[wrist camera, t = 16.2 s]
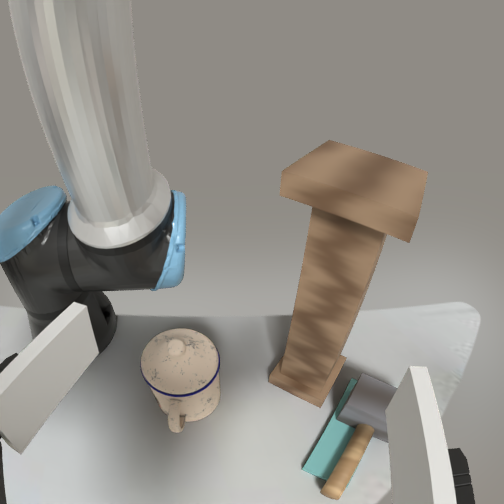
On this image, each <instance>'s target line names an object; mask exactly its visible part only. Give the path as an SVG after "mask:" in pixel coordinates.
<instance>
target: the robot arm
mask: <svg viewBox="0 0 504 504" xmlns="http://www.w3.org/2000/svg"><path fill="white" fill-rule="evenodd" d="M8 2H9V8H10V14H11V19H12V24H13V29H14V33H15V38H16V42H17V46H18V50H19V54H20V58H21V62H22V65H23V69H24V73H25V76H26V80H27V83H28V86H29V90H30V93H31V96H32V99H33V102H34V105H35V108H36V111H37V114H38V117H39V120H40V122H41V125H42V128H43V131H44V134H45V136H46V139H47V142H48V144H49V147H50V149H51V152H52V154H53V157H54V159H55V162H56V164H57V166H58V169H59V171H60V174H61V176H62V178H63V180H64V183H65V185H66V187H67V189H68V192H69V194H70V196H71V198H72V199H71V201H67V200H66V197H67V196H66V194H65V193H64V191H63V189H62V188H60V187H57V186H47V187H43V188H40V189H37V190H34V191H32V192H30V193H28V194H26V195H24V196H22V197H21V198H19V199H18V200H16V201H15V202H13V203H12V204H11V205H10V206H8V207H7V208H6V209H5V210H4V211H3V212H2V214H1V215H0V264H1V266H2V268H3V270H4V271H5V274H6V275H7V277H8V279H9V281H10V283H11V285H12V286H13V288H14V290H15V292H16V294H17V295H18V297H19V299H20V301H21V302H22V304H23V306H24V308H25V309H26V311H27V313H28V319H29V324H30V328H31V333H32V337H33V341H32V342H31V343H30V344H29V345H28V346H27V347H26V348H25V349H24V350H23V351H22V352H21V353H20V354H17V353H15V354H13V355H12V356H10V357H8V358H6V359H5V360H4V361H3V362H2V363H1V364H0V439H1V438H3V439H4V440H5V442H6V443H7V444H8V445H9V446H10V447H11V448H13V449H14V450H16V451H17V452H18V453H20V454H22V453H23V451H24V450H25V449H26V447H27V446H28V444H29V443H30V442H31V440H32V439H33V438H34V436H35V435H36V434H37V432H38V431H39V430H40V428H41V427H42V425H43V424H44V423H45V421H46V420H47V419H48V417H49V416H50V415H51V414H52V412H53V411H54V410H55V408H56V407H57V406H58V404H59V403H60V402H61V400H62V399H63V398H64V397H65V395H66V394H67V393H68V391H69V390H70V389H71V388H72V386H73V385H74V384H75V383H76V381H77V380H78V379H79V378H80V376H81V375H82V374H83V373H84V371H85V370H86V369H87V368H88V366H89V365H90V364H91V363H92V361H93V360H94V359H95V358H96V356H97V355H98V354H100V353H101V352H102V351H103V350H104V349H105V348H106V347H107V345H108V344H109V343H110V341H111V339H112V337H113V335H114V333H115V329H116V316H115V312H114V310H113V307H112V305H111V302H110V301H109V299H108V298H107V296H106V295H104V293H103V292H102V291H118V290H144V289H150V290H152V291H156V290H158V289H161V288H171V287H175V286H177V285H179V284H180V283H181V281H182V279H183V276H184V264H185V236H186V197H185V195H184V194H183V193H182V192H177V191H175V190H170V188H169V185H168V182H167V180H166V179H165V177H164V176H163V175H162V174H160V173H159V172H158V171H157V170H155V169H153V168H151V163H150V157H149V151H148V146H147V139H146V133H145V126H144V120H143V113H142V106H141V99H140V91H139V83H138V75H137V66H136V57H135V46H134V36H133V23H132V9H131V0H8ZM385 413H386V422H387V432H388V442H389V455H390V469H391V489H392V504H475V500H474V494H473V488H472V485H471V477H470V475H469V467H468V463H467V459H466V457H465V456H464V454H463V453H462V451H461V450H460V448H457V449H447V444H446V439H445V434H444V430H443V426H442V421H441V417H440V413H439V409H438V405H437V401H436V398H435V394H434V390H433V387H432V383H431V380H430V376H429V373H428V370H427V367H420V366H409V368H408V370H407V372H406V374H405V376H404V378H403V379H402V381H401V383H400V385H399V387H398V389H397V391H396V393H395V394H394V396H393V398H392V400H391V402H390V403H389V405H388V407H387V409H386V410H385ZM0 504H7V503H6V495H5V487H4V476H3V462H2V446H1V442H0Z"/></svg>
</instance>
